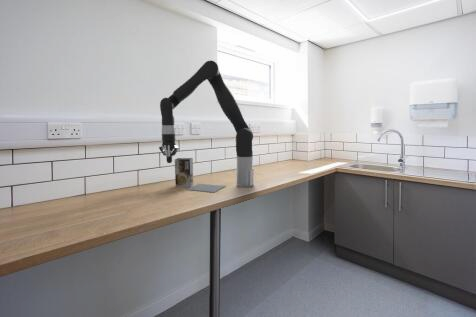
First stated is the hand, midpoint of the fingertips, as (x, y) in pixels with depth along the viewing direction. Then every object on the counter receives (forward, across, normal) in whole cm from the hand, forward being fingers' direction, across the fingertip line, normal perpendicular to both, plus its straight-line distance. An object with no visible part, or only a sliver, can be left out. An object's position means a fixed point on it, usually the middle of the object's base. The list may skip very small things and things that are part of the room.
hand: (169, 162), depth 154 cm
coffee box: (+13, -10, 0) cm, 17 cm away
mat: (+13, -24, 0) cm, 28 cm away
